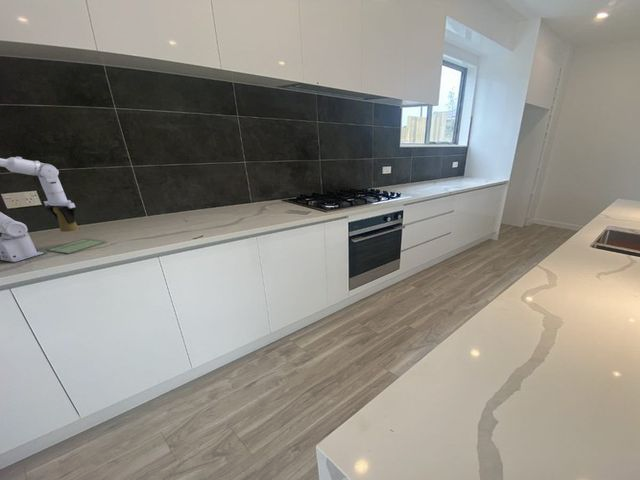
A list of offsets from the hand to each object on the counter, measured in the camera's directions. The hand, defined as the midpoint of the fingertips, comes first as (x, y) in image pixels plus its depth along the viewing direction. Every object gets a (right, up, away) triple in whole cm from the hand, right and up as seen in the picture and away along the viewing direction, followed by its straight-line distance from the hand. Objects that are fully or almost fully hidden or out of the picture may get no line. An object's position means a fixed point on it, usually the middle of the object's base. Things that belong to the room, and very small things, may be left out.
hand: (67, 222), depth 134 cm
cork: (0, -3, +1) cm, 4 cm away
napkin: (+3, -11, +1) cm, 11 cm away
